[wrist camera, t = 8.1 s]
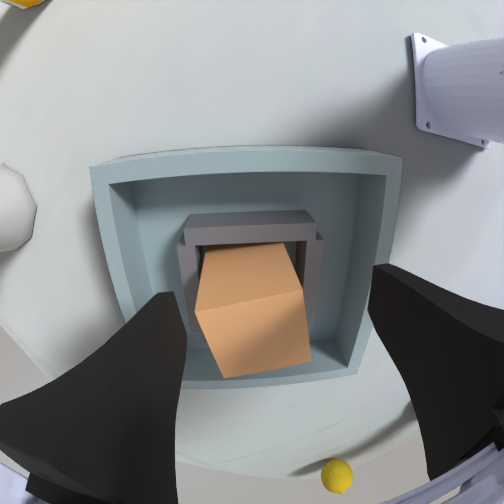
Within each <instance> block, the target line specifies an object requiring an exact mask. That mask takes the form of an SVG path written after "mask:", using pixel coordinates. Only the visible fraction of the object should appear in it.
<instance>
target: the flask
mask: <svg viewBox="0 0 504 504" xmlns="http://www.w3.org/2000/svg"><path fill="white" fill-rule="evenodd" d="M36 207H37V206H36V204H35V202H34V200H33V198H32V195H31V193H30V191H29V189H28V187H27V184H26V182H25V180H24V177H23V175H21V174H20V173H18V172H16V171H15V170H13V169H12V168H10V167H8V166H7V165H5V164H2V165H1V166H0V252H6V251H13V250H17V249H18V248H19V247H20V246H21V245H22V244H23V243H25V242H26V241H27V240H28V239H29V238H31V236H32V229H33V223H34V217H35V212H36Z"/></svg>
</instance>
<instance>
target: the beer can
mask: <svg viewBox="0 0 504 504" xmlns="http://www.w3.org/2000/svg"><path fill="white" fill-rule="evenodd" d="M44 1H45V0H0V2H3V3H6V4H9V5H12V6H15V7H18V8H21V9H27V8H30V7H32V6H34V5H37V4H40V3H42V2H44Z"/></svg>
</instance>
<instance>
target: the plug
mask: <svg viewBox="0 0 504 504" xmlns="http://www.w3.org/2000/svg"><path fill="white" fill-rule="evenodd" d="M195 314H196V317H197V319H198V322H199V324H200V326H201V329H202V331H203V333H204V336H205V338H206V340H207V342H208V345H209V347H210V349H211V351H212V353H213V356H214V358H215V360H216V362H217V364H218V366H219V369H220V371H221V373H222V375H223V377H224V378H229V377H235V376H242V375H247V374H253V373H258V372H264V371H269V370H274V369H278V368H283V367H288V366H292V365H296V364H301V363H305V362H309V361H311V353H310V344H309V336H308V327H307V319H306V312H305V304H304V297H303V290H302V287H301V284H300V282H299V279H298V277H297V275H296V272H295V270H294V267H293V265H292V263H291V260H290V258H289V255H288V253H287V251H286V248H285V246H284V244H283V242H261V243H238V244H216V245H207V247H206V252H205V257H204V263H203V268H202V273H201V278H200V284H199V289H198V295H197V300H196V306H195Z"/></svg>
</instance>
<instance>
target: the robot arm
mask: <svg viewBox="0 0 504 504" xmlns="http://www.w3.org/2000/svg"><path fill="white" fill-rule="evenodd" d="M421 39H422V40H423V41H422V40H421ZM411 40H412V48H413V58H414V70H415V89H416V126H417V128H418V129H419V130H421V131H426V132H430V133H434V134H438V135H442V136H446V137H450V138H453V139H457V140H460V141H464V142H467V143H470V144H473V145H476V146H479V147H482V148H485V149H490V148H491V141H495V142H499V143H503V144H504V38H499V39H490V40H482V41H476V42H469V43H464V44H458V45H453V46H447V45H445V44H443V43H441V42H438V41H436V40H434V39H432V38H429V37H427V36H425V35H422V34H420V33H417V32H415V33H412V35H411ZM426 123H428V127H426ZM367 311H368V313H369V316H370V318H371V321H372V323H373V326H374V328H375V330H376V332H377V334H378V336H379V337H380V339H381V341H382V343H383V344H384V346H385V348H386V350H387V351H388V353H389V355H390V357H391V358H392V360H393V362H394V364H395V365H396V367H397V369H398V371H399V372H400V374H401V376H402V378H403V380H404V382H405V385H406V387H407V390H408V393H409V395H410V398H411V401H412V403H413V407H414V410H415V413H416V416H417V419H418V423H419V427H420V431H421V435H422V439H423V443H424V450H425V456H426V463H427V473H428V476H429V479H430V482H428V483H426V484H424V485H422V486H420V487H418V488H416V489H414V490H411V491H409V492H407V493H405V494H402V495H400V496H398V497H395V498H393V499H390V500H387V501H385V502H382V503H379V504H428V503H430V502H431V501H434V500H436V499H437V498H439V497H441V496H443V495H444V494H446V493H448V492H450V491H451V490H453V489H455V488H456V487H458V486H459V485H461V484H462V486H461V487H460V491H459V493H458V494H457V495H455V496H453V497H452V498H450V499H448V500H446V501H444V502H443V503H441V504H504V310H502V309H498V308H494V307H490V306H487V305H484V304H481V303H478V302H475V301H472V300H470V299H467V298H464V297H462V296H459V295H457V294H455V293H452V292H450V291H448V290H445V289H443V288H441V287H439V286H437V285H435V284H433V283H430V282H428V281H426V280H424V279H422V278H420V277H418V276H416V275H414V274H412V273H410V272H408V271H406V270H403V269H401V268H399V267H397V266H394V265H391V264H388V263H385V264H379V265H373V272H372V280H371V288H370V295H369V301H368V308H367ZM186 350H187V332H186V329H185V326H184V323H183V320H182V317H181V314H180V311H179V307H178V304H177V301H176V297H175V294H174V291H170V292H159V293H157V294H156V295H154V296H153V297H152V298H151V299H150V300H149V301H148V302H147V303H146V304H145V305H144V306H143V307H142V308H141V309H140V310H139V311H138V312H137V313H136V314H135V315H134V316H133V317H132V318H131V319H130V320H129V321H128V322H127V323H126V324H125V325H124V326H123V327H122V328H121V329H120V330H119V331H118V332H117V333H115V334H114V335H113V336H112V337H111V338H110V339H109V340H108V341H107V342H106V343H105V344H104V345H102V346H101V347H100V348H99V349H98V350H96V351H95V352H94V353H93V354H91V355H90V356H89V357H88V358H86V359H85V360H84V361H82V362H81V363H80V364H78V365H77V366H75V367H74V368H72V369H71V370H69V371H68V372H66V373H64V374H63V375H61V376H60V377H58V378H57V379H55V380H53V381H52V382H50V383H48V384H46V385H44V386H43V387H41V388H38V389H36V390H34V391H32V392H30V393H28V394H26V395H23V396H21V397H18V398H16V399H13V400H11V401H8V402H5V403H2V404H1V405H0V450H1V451H2V452H3V453H5V454H6V455H7V456H8V457H10V458H11V459H12V460H14V461H15V462H16V463H17V464H19V465H20V466H21V467H23V468H24V469H26V470H27V471H29V472H30V475H29V478H26V477H25V476H23V475H21V474H20V473H18V472H16V471H14V470H13V469H11V468H9V467H8V466H6V465H4V464H3V463H0V504H178V497H177V488H176V473H175V421H176V412H177V405H178V399H179V394H180V388H181V383H182V378H183V372H184V367H185V361H186Z"/></svg>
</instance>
